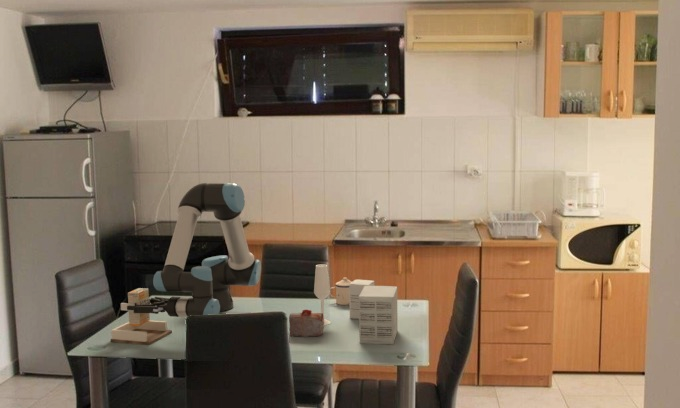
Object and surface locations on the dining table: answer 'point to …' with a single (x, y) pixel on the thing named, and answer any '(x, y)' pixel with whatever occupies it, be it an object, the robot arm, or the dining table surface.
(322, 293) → the champagne flute
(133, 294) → the supplement box
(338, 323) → the dining table surface
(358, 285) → the supplement box
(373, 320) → the supplement box
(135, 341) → the walled holder
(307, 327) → the food item
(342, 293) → the teacup with lid
